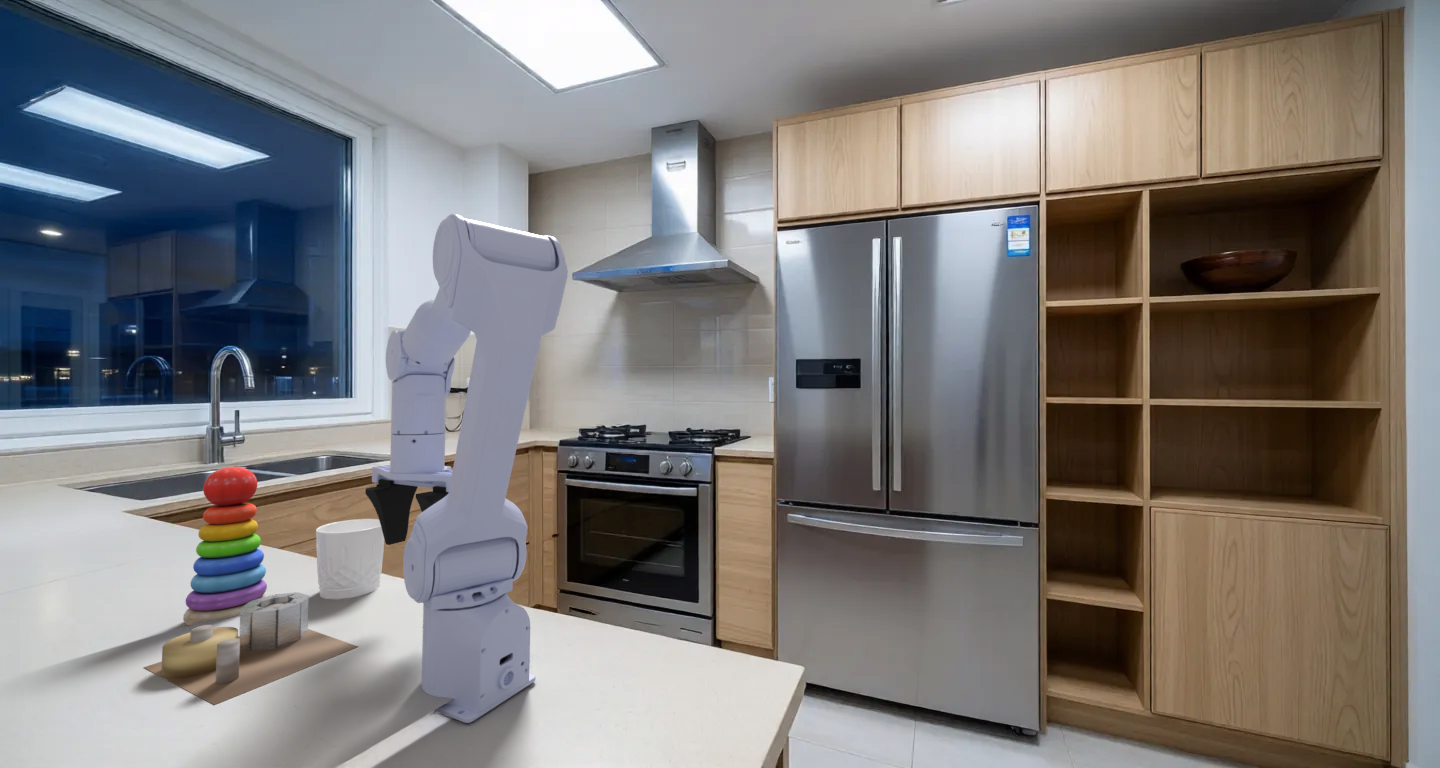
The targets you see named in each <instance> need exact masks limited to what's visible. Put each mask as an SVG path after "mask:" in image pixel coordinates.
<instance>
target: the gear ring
mask: <svg viewBox="0 0 1440 768" xmlns="http://www.w3.org/2000/svg"><path fill="white" fill-rule="evenodd" d="M274 604H283V605H280V606H276V607H268V606H270V605H274ZM308 625H309V595H308V594H305V593H303V592H302V593H301V592H286V593H278V594H277V593H276V594H271V595H267V597H263V598H260V599H256V600H253V601H251V602H248V603H247V604H246V605H244V606H243V607H242V608H240V615H239V636H240V637H239V636H238V637H239V639H240V648H242V649H245V650H247V651H258V650H266V649H274V648H276V647H277V648H278V647H281V646H284V645H287V644H289V643H292V642H295V641H298V640H299V639H301V638H302V637H303V636H304V635H305V634H306V633H307V631H308V629H309V628H308V627H309V626H308Z"/></svg>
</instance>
